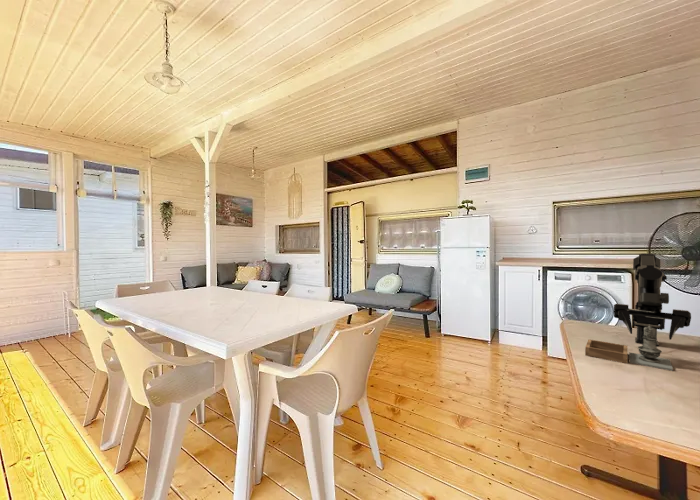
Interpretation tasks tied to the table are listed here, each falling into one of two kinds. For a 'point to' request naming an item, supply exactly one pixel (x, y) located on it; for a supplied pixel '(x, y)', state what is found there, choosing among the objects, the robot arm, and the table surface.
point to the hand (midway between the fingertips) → (650, 335)
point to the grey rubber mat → (662, 365)
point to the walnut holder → (606, 351)
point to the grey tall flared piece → (649, 346)
